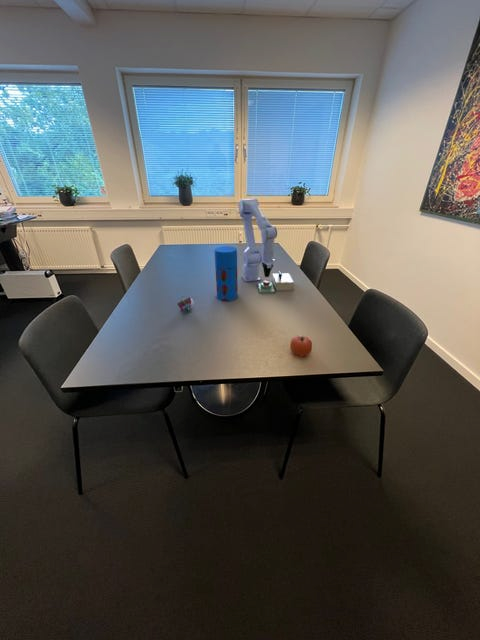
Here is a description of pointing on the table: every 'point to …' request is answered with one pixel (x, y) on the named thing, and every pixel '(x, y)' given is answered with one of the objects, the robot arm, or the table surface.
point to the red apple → (301, 345)
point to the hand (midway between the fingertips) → (266, 276)
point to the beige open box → (283, 286)
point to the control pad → (266, 288)
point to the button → (266, 282)
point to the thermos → (226, 272)
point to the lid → (282, 278)
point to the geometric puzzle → (185, 303)
